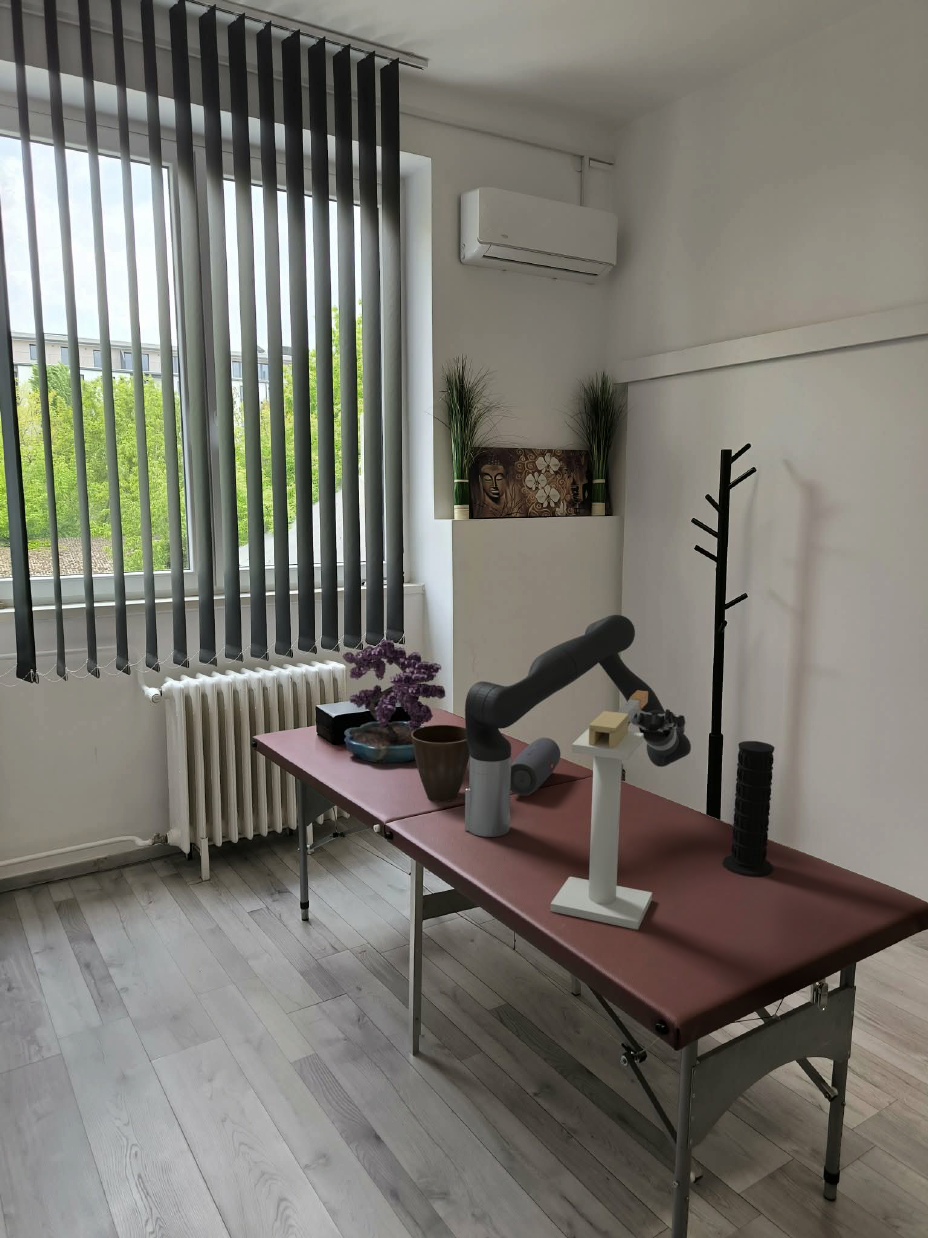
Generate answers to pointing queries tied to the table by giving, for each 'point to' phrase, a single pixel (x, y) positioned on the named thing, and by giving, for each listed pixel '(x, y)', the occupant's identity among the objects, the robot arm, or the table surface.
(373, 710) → the bonsai tree
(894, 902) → the table surface
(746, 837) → the handle grip
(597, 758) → the stand
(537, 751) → the bluetooth speaker
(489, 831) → the robot arm
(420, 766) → the plant pot
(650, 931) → the table surface
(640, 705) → the grey orange square rod
